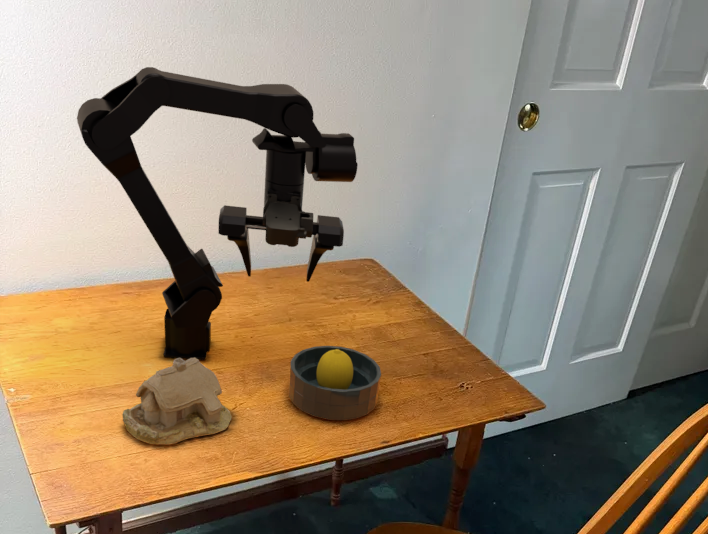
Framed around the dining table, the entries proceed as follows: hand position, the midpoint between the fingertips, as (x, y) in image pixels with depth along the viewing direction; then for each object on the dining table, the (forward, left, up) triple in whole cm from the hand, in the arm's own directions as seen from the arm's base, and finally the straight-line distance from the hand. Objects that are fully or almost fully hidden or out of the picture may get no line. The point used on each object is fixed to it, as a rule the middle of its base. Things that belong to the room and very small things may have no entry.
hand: (278, 278), depth 126 cm
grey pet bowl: (+9, -16, -12) cm, 22 cm away
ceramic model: (-13, -25, -12) cm, 31 cm away
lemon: (+9, -16, -12) cm, 22 cm away
